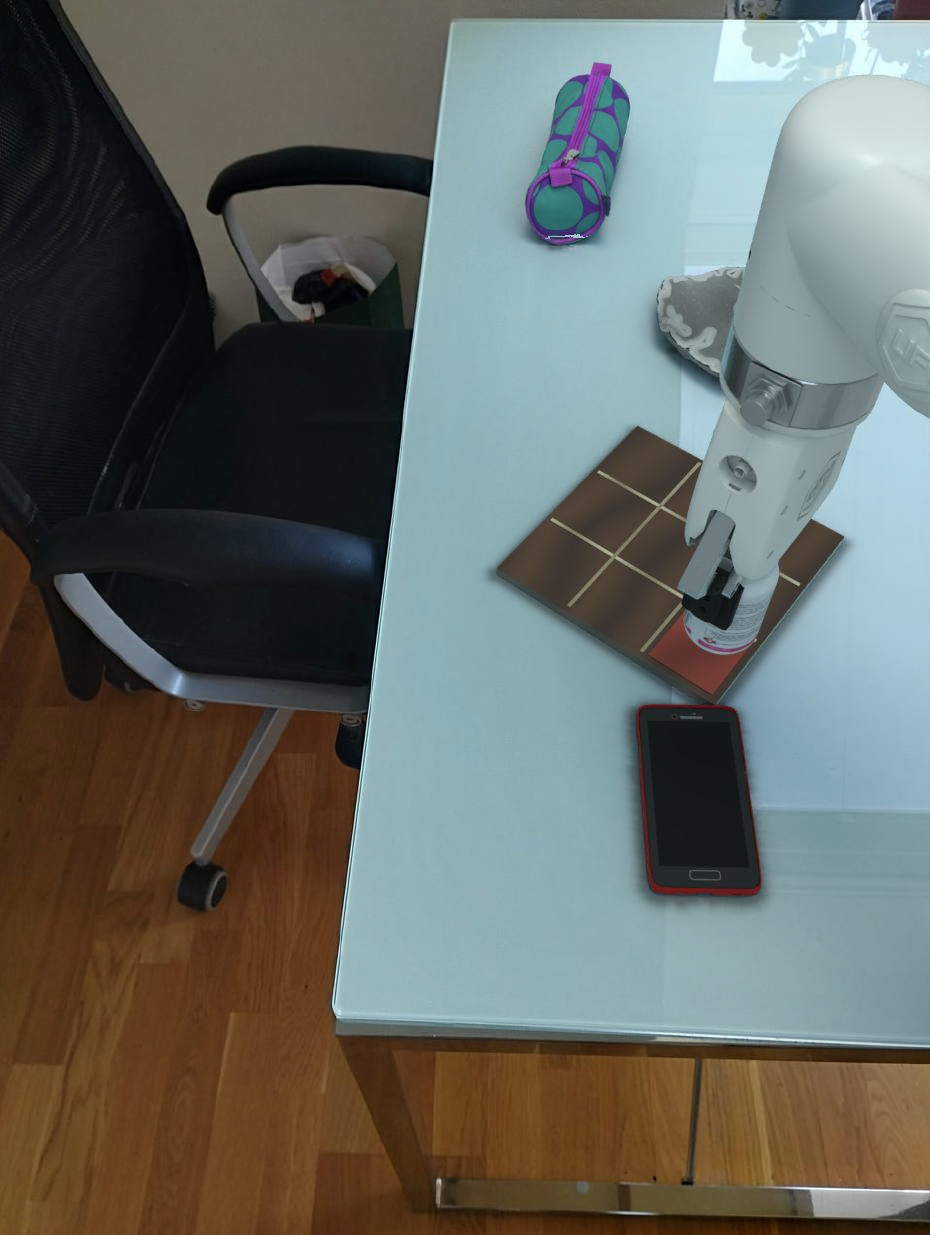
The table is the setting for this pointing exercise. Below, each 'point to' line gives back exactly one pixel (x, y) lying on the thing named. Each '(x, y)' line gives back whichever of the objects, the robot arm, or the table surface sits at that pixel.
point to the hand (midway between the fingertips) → (729, 584)
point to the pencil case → (579, 157)
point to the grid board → (646, 565)
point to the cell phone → (696, 801)
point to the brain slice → (700, 314)
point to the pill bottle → (736, 616)
